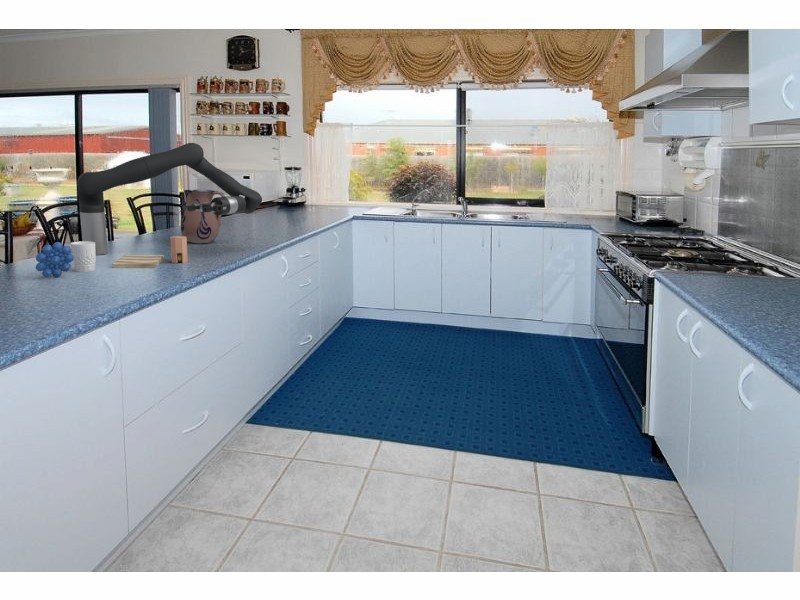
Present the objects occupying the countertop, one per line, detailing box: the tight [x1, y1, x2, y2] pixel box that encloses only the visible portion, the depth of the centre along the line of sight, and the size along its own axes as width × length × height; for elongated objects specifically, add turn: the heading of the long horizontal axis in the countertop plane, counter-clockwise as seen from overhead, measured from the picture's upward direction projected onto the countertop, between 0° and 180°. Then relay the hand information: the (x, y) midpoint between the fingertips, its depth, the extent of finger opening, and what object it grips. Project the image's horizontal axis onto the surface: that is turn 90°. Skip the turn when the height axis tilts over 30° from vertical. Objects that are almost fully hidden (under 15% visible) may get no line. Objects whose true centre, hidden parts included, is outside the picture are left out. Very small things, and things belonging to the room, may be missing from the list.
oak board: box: [111, 254, 165, 269], centre depth 243 cm, size 20×15×2 cm
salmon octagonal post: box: [169, 235, 189, 264], centre depth 247 cm, size 6×6×10 cm
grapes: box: [35, 241, 74, 278], centre depth 211 cm, size 12×7×12 cm, turn 125°
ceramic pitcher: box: [180, 189, 226, 244], centre depth 299 cm, size 18×21×25 cm
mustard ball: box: [177, 254, 182, 263], centre depth 248 cm, size 3×3×3 cm
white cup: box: [70, 241, 97, 273], centre depth 224 cm, size 8×8×10 cm
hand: (195, 209), depth 251 cm, fingers open, 8 cm apart
